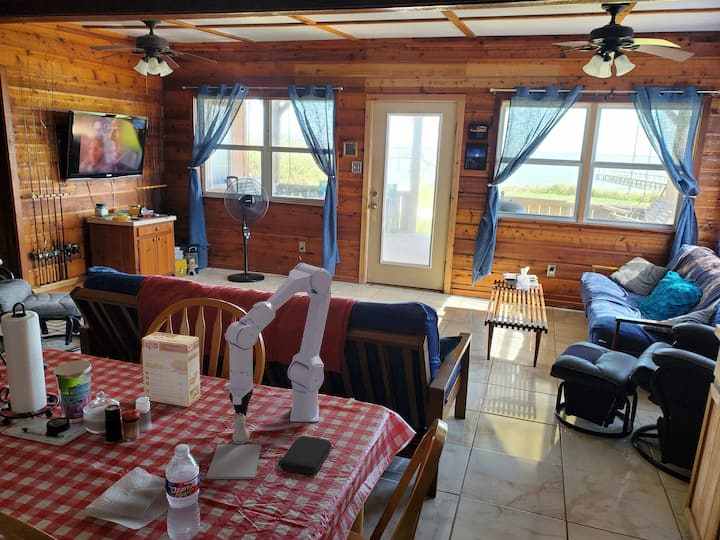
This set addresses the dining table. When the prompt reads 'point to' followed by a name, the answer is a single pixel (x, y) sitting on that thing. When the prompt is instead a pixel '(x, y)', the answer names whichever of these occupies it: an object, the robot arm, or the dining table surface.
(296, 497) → the dining table surface
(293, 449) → the carrying case or bag
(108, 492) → the dining table surface
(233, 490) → the dining table surface
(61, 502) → the dining table surface
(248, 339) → the robot arm
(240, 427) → the rook chess piece
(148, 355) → the coffeecake box
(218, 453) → the slate mat
